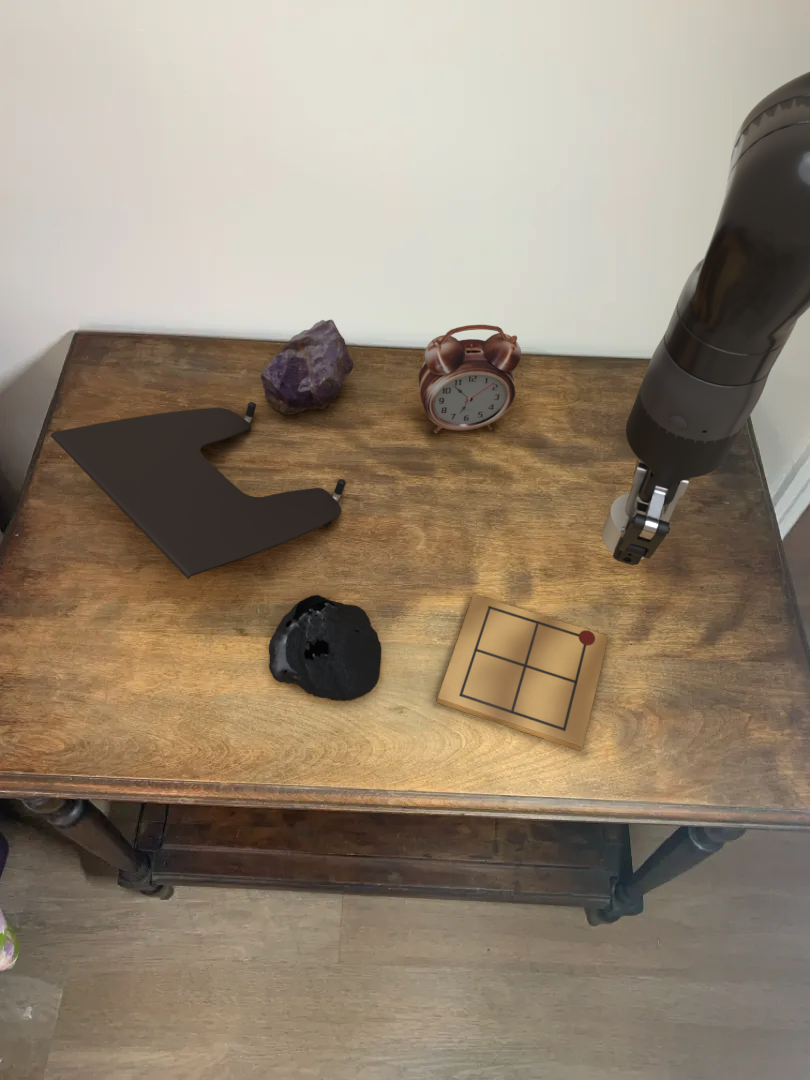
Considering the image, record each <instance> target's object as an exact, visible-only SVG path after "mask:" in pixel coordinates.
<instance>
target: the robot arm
mask: <svg viewBox="0 0 810 1080" xmlns="http://www.w3.org/2000/svg"><path fill="white" fill-rule="evenodd" d="M727 175H728V176H727V180H726V181H727V182H726V187H725V191H724V197H723V201H722V204H721V208H720V211H719V214H718V218H717V220H716V224H715V227H714V230H713V233H712V236H711V238H710V242H709V243H708V246H707V249H706V251H705V254H704V257H703V258H702V259H701V260H700V261H698V263H696V265H695V266H694V268H693V269H692V271H691V272H690V274H689V275H688V277H687V279H686V281H685V283H684V285H683V287H682V289H681V292H680V294H679V296H678V300H677V301H676V304H675V308H674V310H673V313H672V315H671V317H670V320H669V323H668V325H667V328H666V330H665V332H664V333H663V336H662V338H661V339H660V341H659V343H658V345H657V346H656V348H655V350H654V352H653V354H652V356H651V358H650V361H649V364H648V366H647V368H646V371H645V374H644V377H643V379H642V382H641V384H640V386H639V389H638V392H637V394H636V397H635V401H634V402H633V405H632V408H631V409H630V413H629V416H628V418H627V421H626V425H625V436H626V440H627V443H628V446H629V447H630V449H631V451H632V452H633V453H634V455H635V456H636V458H637V460H636V464H635V467H634V472H633V476H632V486H631V489H630V492H629V493H630V494H629V497H628V499H627V502H626V507H625V513H626V515H627V516H628V517H627V520H626V523H625V525H624V527H623V526H622V529H621V532H622V534H621V536H620V538H619V541H618V543H617V545H616V547H615V550H614V554H613V553H612V557H613V559H614V560H616V561H617V562H619V563H623V564H625V565H629V566H633V567H634V566H637V565H639V564H640V562H641V560H642V559H641V558H642V557H644V559H647V560H650V559H651V558H652V556H654V554H655V552H656V551H657V549H658V548H659V547H660V545H661V543H662V542H663V541H664V540H665V538H666V537H667V535H669V533H670V530H671V527H670V520H671V518H672V515H673V513H674V510H675V508H676V505H677V503H678V501H679V499H680V498H682V497H683V496H684V495H685V493H686V491H687V488H688V486H689V484H690V480H691V479H693V478H699V477H702V476H706V475H708V474H710V473H713V472H714V471H716V470H718V468H719V467H721V466H722V464H723V463H724V462H725V460H726V459H727V457H728V455H729V454H730V452H731V450H732V449H733V447H734V445H735V443H736V441H737V439H738V438H739V436H740V434H741V433H742V431H743V429H744V427H745V426H746V423H747V422H748V420H749V418H750V416H751V414H752V413H753V411H754V409H755V408H756V406H757V404H758V402H759V401H760V398H761V396H762V394H763V392H764V389H765V387H766V384H767V381H768V379H769V378H768V377H769V375H770V373H771V371H772V368H773V367H774V365H775V363H776V362H777V361H778V358H779V356H780V354H781V353H782V351H783V350H784V347H785V345H787V342H788V341H789V338H790V337H791V335H792V332H793V331H794V329H795V326H796V324H797V322H798V320H799V318H800V317H802V315H804V314H805V313H806V312H807V311H808V310H809V309H810V71H807V72H805V73H803V74H801V75H799V76H797V77H795V78H793V79H791V80H790V81H787V82H786V83H784V84H782V85H781V86H779V87H778V88H776V89H774V90H773V91H771V92H770V93H769V94H767V95H766V96H765V97H763V98H762V99H761V100H760V101H759V102H757V104H756V105H755V106H754V107H753V108H752V109H751V110H750V111H749V112H748V114H747V115H746V117H745V118H744V119H743V121H742V123H741V125H740V127H739V129H738V130H737V133H736V135H735V138H734V142H733V146H732V151H731V155H730V162H729V169H728V174H727ZM638 493H639V495H638ZM637 496H638V497H639V498H640V499H641V501H643V502H645V503H648V504H649V505H647V504H644V503H640V502H638V501H637V500H636V498H637Z"/></svg>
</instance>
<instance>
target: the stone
mask: <svg viewBox="0 0 810 1080" xmlns="http://www.w3.org/2000/svg"><path fill="white" fill-rule="evenodd" d="M629 494H630V492H627V493H624V494H621V495H619V496H618V497H617V498H616V499H614V501H613V502H612V503H611V506H610V508H609V511H608V513H607V516H606V518H605V521H604V523H603V525H602V528H601V540H602V542H603V545H604V546H605V547H606V549H607V550H608V551H609V552H610V553H612V555H613V554H614V550H615V547H616V545H617V543H618V541H619V538H620V536H621V534H622V532H621V529H622V526H623V527H624V525H625V523H626V520H627V517H628V516H627V515H626V513H625V507H626V502H627V499H628V497H629ZM638 495H639V493H638ZM636 500H637V501H638V502H640V503H644V504H647V505H649V504H648V503H645V502H643V501H641V499H640V498H639V497H638V496H637V498H636ZM644 559H645V558H644V557H642V558H641V560H644Z"/></svg>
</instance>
